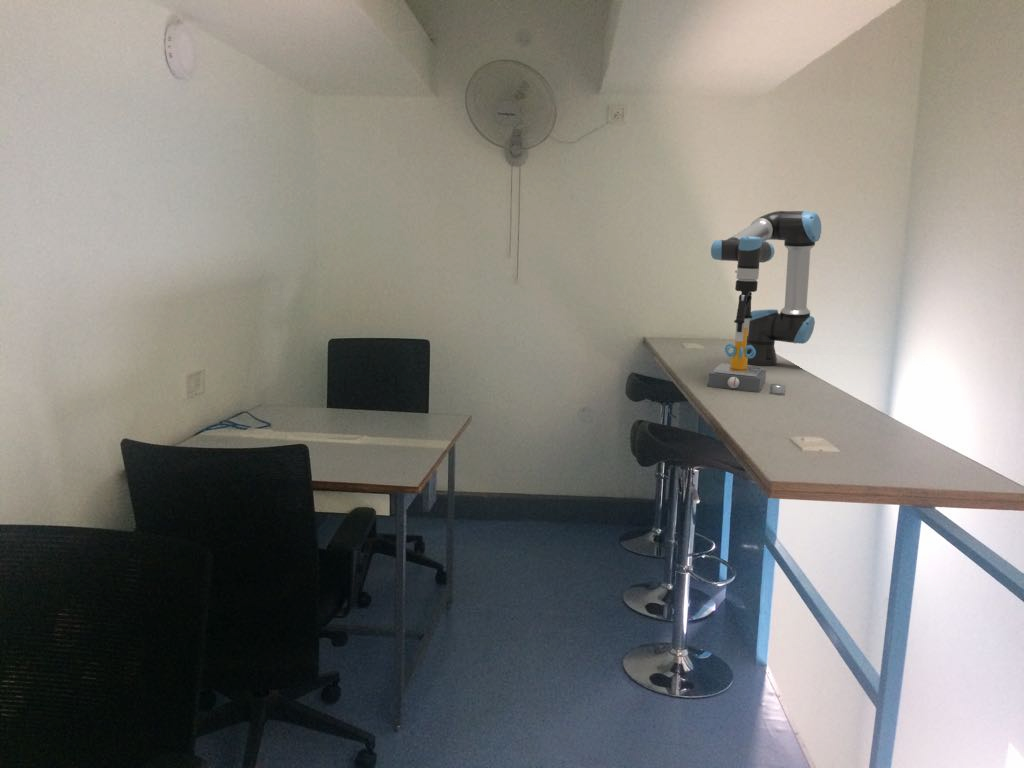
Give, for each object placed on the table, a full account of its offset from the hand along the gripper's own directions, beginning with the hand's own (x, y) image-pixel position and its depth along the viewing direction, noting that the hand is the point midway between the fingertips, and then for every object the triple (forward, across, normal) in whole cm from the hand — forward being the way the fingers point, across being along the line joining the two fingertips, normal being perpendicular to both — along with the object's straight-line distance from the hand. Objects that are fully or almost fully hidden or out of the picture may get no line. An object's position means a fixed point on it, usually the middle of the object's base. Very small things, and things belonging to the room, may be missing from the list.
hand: (741, 338), depth 274 cm
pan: (+16, +1, 0) cm, 16 cm away
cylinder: (+11, +1, 0) cm, 11 cm away
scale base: (+17, +1, 0) cm, 17 cm away
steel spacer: (+18, +8, +15) cm, 24 cm away
